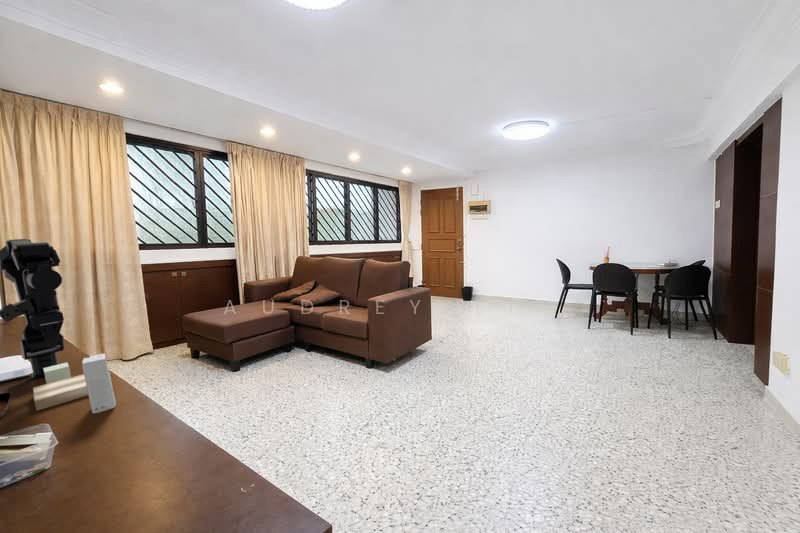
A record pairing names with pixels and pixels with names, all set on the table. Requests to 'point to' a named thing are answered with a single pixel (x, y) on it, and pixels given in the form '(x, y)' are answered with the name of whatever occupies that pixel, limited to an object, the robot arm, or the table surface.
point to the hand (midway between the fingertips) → (51, 343)
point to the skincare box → (98, 383)
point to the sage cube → (57, 373)
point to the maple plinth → (60, 392)
